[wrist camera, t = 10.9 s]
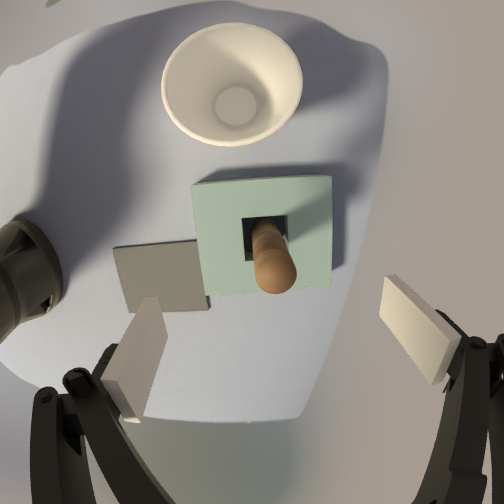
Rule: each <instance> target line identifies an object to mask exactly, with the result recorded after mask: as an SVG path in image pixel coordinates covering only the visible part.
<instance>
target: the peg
mask: <svg viewBox="0 0 504 504" xmlns="http://www.w3.org/2000/svg"><path fill="white" fill-rule="evenodd" d="M251 234H252V246H253V258H254V270H255V280H256V283H257V285H258V286H259V287H260V288H261V289H262V290H263V291H265V292H267V293H270V294H280V293H283V292H285V291H287V290H289V289H290V288H291V287H292V286H293V284H294V283H295V281H296V278H297V270H296V267H295V264H294V262H293V260H292V258H291V255H290V253H289V251H288V249H287V247H286V244H285V242H284V240H283V238H282V235H281V233H280V231H279V229H278V227H277V225H276V223H275V222H274V221H273V220H271V219H269V218H261V219H259V220H257V221H256V222H255V223H254V224H253V226H252V229H251Z"/></svg>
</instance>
